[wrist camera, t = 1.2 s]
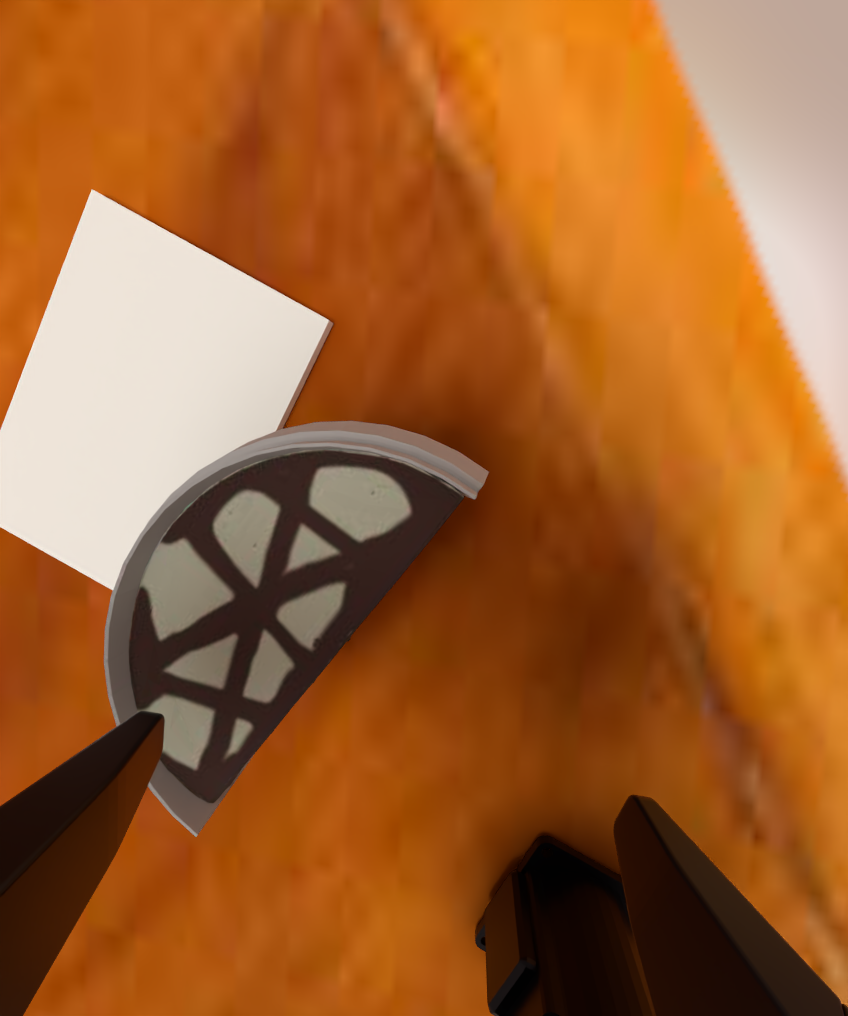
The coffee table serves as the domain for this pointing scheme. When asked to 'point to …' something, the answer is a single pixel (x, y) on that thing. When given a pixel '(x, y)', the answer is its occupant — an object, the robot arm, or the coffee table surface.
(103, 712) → the coffee table surface
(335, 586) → the food container
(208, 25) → the coffee table surface
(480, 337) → the coffee table surface
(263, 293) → the white flat rectangular board
